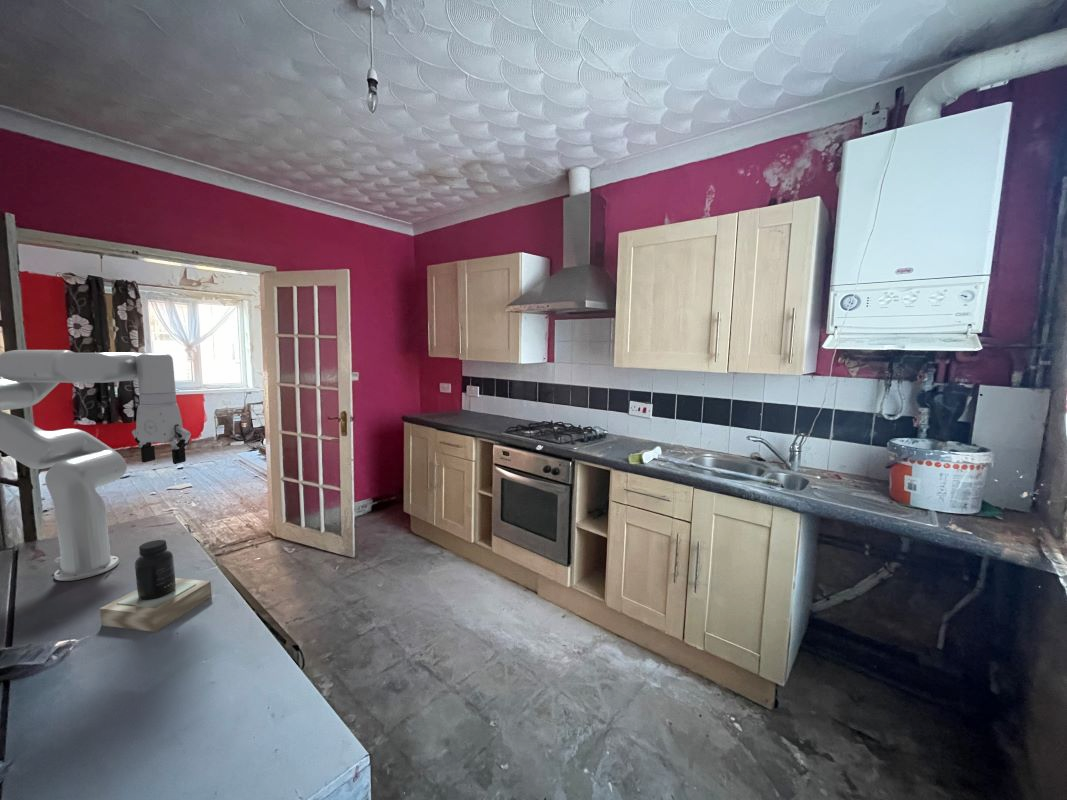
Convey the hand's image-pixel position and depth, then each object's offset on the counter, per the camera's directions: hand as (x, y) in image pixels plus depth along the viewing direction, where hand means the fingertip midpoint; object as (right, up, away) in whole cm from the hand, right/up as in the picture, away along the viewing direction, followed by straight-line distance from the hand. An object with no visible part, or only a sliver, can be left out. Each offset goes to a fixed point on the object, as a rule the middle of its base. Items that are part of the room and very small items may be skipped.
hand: (164, 462), depth 121 cm
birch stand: (+13, -33, -17) cm, 39 cm away
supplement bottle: (+13, -28, -17) cm, 35 cm away
